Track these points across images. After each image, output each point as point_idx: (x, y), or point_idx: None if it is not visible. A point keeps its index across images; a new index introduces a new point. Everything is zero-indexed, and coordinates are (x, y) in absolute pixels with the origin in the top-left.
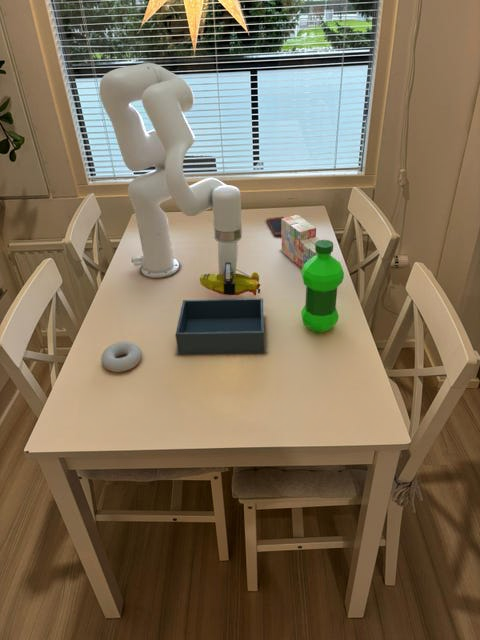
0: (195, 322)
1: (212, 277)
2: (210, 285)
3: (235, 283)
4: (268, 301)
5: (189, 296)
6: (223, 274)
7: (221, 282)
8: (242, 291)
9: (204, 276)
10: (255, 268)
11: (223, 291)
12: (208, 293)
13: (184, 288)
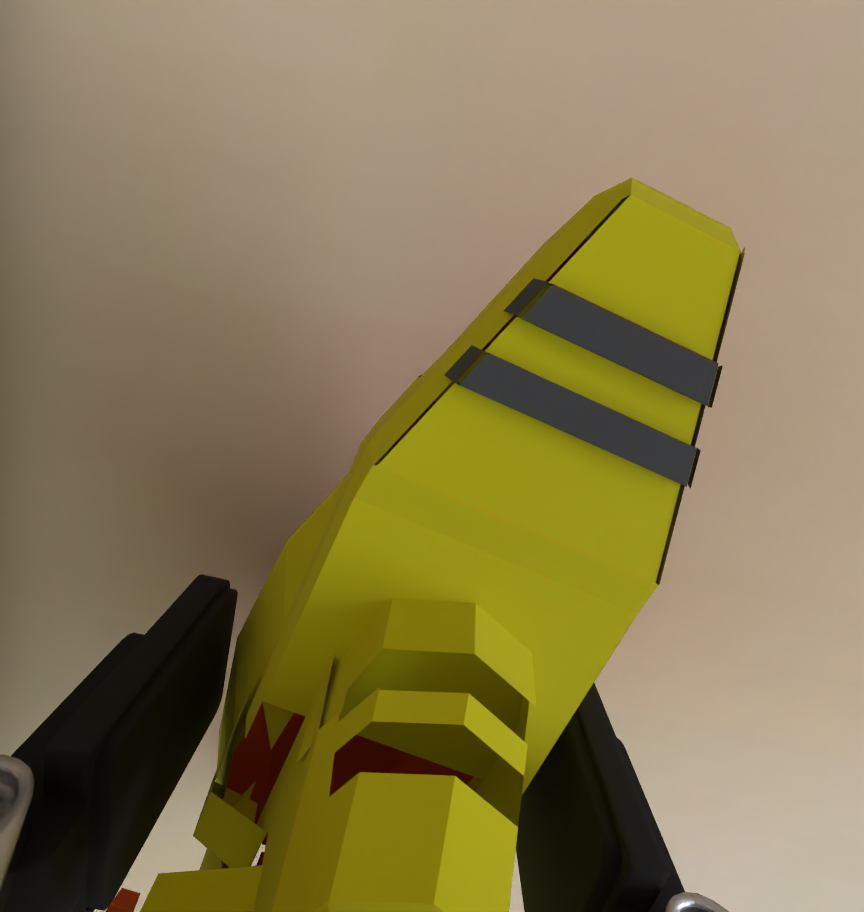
0: None
1: (504, 525)
2: (389, 413)
3: (209, 856)
4: None
5: (580, 72)
6: (267, 891)
7: (277, 658)
8: (236, 791)
9: (603, 328)
10: (835, 878)
11: (269, 577)
12: None
13: (828, 21)
